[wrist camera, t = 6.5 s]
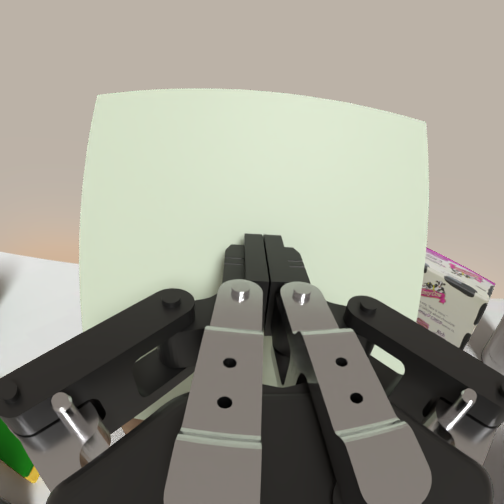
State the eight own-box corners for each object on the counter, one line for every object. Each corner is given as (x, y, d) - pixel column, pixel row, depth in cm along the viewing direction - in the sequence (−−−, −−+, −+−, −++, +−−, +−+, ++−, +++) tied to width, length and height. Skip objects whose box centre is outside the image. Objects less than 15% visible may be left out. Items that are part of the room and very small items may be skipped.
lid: (416, 127, 14) (425, 122, 13) (384, 411, 15) (390, 420, 14) (104, 102, 13) (97, 95, 12) (101, 400, 14) (94, 409, 13)
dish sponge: (-13, 386, 22) (-22, 374, 21) (63, 435, 21) (54, 424, 20) (-39, 423, 16) (-50, 411, 15) (36, 486, 15) (24, 477, 14)
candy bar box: (432, 394, 28) (498, 283, 21) (414, 419, 26) (491, 303, 18) (367, 348, 36) (408, 235, 28) (344, 367, 33) (387, 246, 26)
